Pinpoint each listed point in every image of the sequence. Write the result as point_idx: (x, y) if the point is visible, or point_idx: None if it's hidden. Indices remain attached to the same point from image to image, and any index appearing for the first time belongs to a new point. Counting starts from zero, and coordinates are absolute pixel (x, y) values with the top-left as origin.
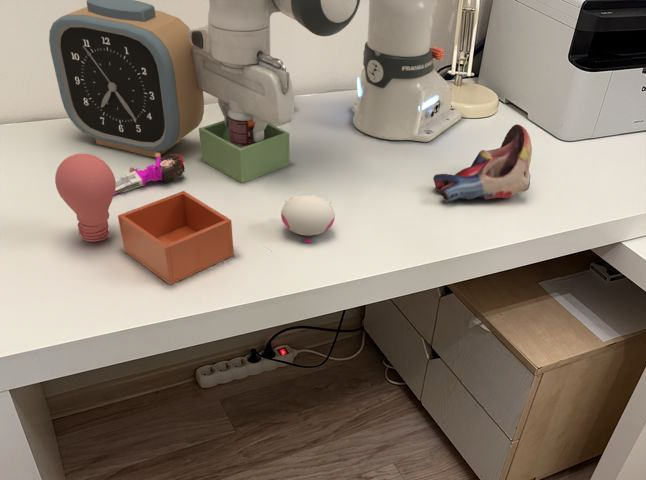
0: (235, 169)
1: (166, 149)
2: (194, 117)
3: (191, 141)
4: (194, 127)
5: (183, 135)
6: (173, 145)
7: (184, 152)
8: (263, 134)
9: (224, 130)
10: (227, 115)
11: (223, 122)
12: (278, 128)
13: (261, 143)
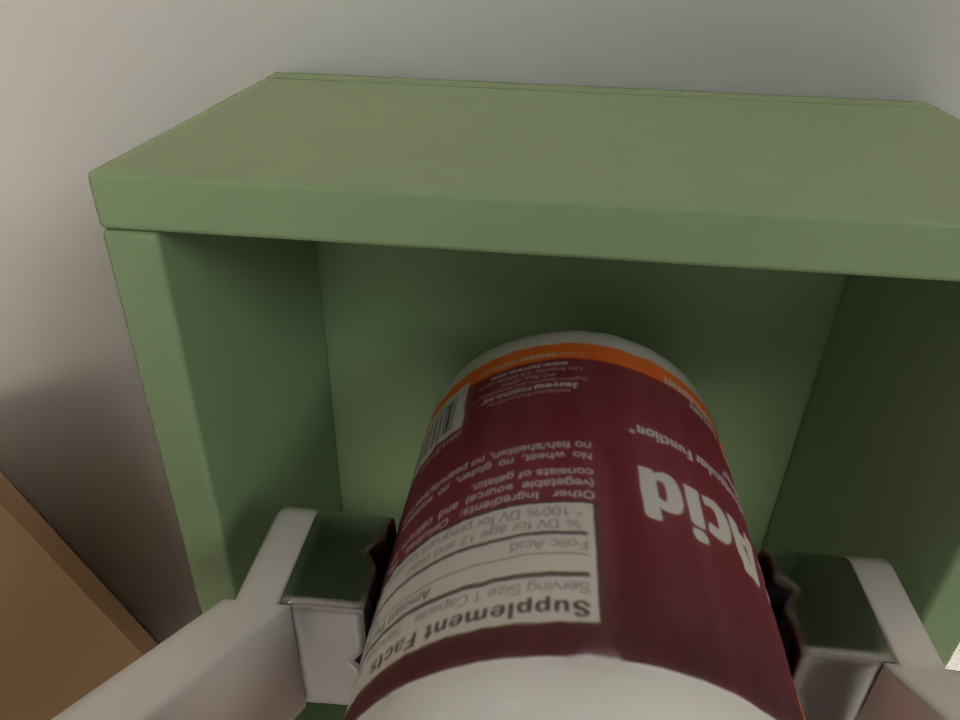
0: None
1: (88, 582)
2: (17, 694)
3: (11, 399)
4: (10, 536)
5: (130, 663)
6: (38, 516)
7: (161, 524)
8: (907, 611)
9: (266, 507)
10: (286, 704)
11: (229, 577)
12: (902, 241)
13: (945, 656)
